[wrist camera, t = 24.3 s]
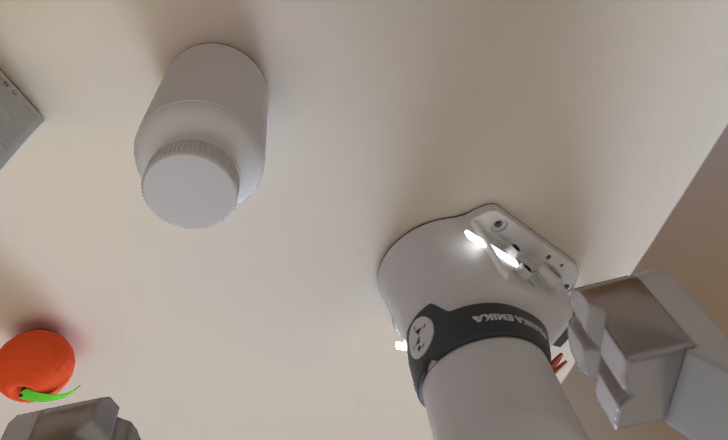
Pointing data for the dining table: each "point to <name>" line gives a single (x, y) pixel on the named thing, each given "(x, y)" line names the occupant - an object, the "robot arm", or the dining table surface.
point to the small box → (14, 119)
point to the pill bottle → (203, 137)
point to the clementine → (36, 366)
